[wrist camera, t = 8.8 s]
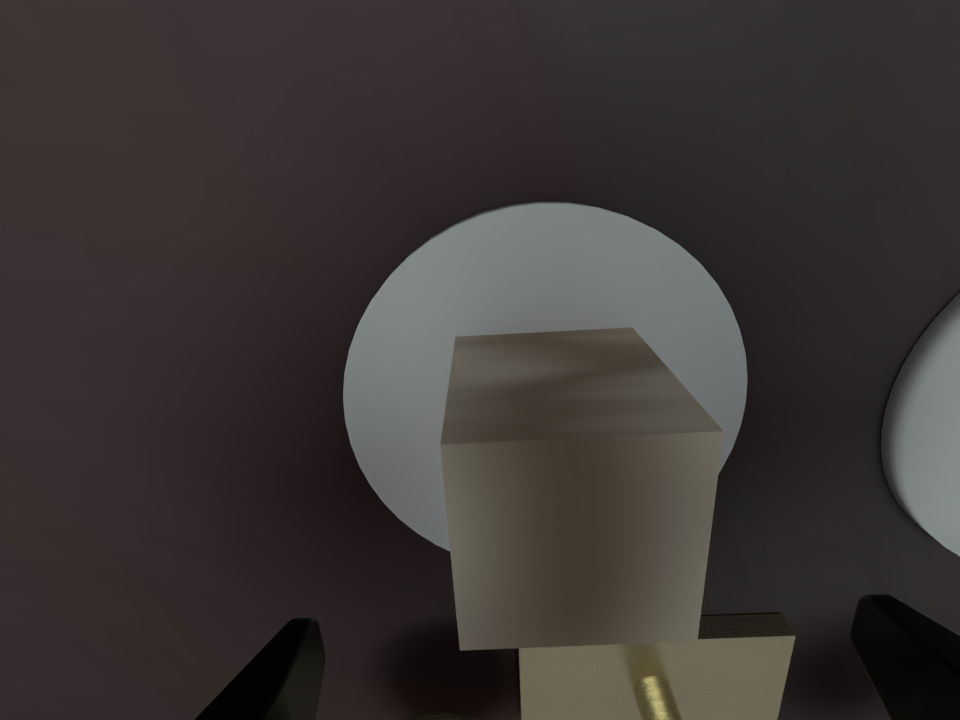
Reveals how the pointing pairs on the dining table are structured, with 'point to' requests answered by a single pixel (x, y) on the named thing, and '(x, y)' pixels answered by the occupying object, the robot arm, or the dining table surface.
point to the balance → (660, 676)
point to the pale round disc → (523, 330)
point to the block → (575, 491)
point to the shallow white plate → (927, 430)
